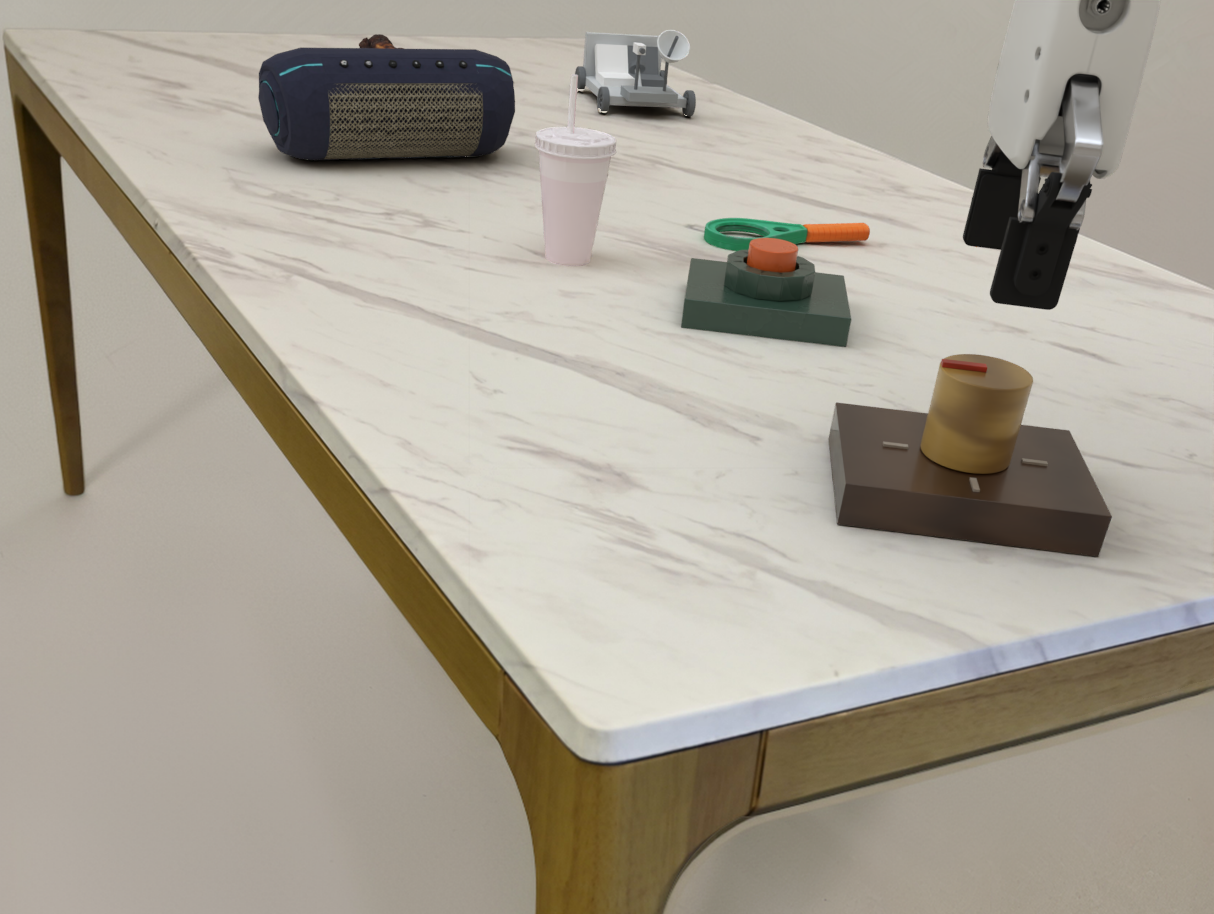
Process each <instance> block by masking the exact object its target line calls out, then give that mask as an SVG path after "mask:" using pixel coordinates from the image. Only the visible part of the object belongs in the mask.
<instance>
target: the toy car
mask: <svg viewBox="0 0 1214 914" xmlns="http://www.w3.org/2000/svg"><path fill="white" fill-rule="evenodd" d="M583 46H584V47H583V48H584V49H583V61H582V65H578V66H577V67H576V68H575V71H574V74H576V75H578V84H577V88H578V89H586V88H587V89H588V90H589V91H591V92H592V94H594V95H595V96H596V97H597V98H596V105H597V109H598V108H600V109H601V111H608V112H609V110H610V106H624V107H625V106H626V107H647V108H649V107H651V108H672V109H673V108H677V109H681V110H682V114H683V113H684V114H685V115H687V116H692V117H693V116H694V114H695V112H696V105H697V97H696V92H695V91H694V90H690V89H686V90H685V91H684V92H683V95H681V94H680V93H679V92H678V91H676V90H675V89H674V88H672V87H671V86H669V85H668V75H669V65H670V64H675V63H678V62H680V61H682V60H684V59H686V58H687V56H688V55H689V54H690V51H691V44H690V41H689V38H687V36H685V34H683V33H682V32H681V31H678V30H677V29H676V30H675V29H666V30H663V31H662V32H661V33H659V35H652V34H651V35H650V34H633V33H616V32H615V33H614V32H594V31H585V33H584V45H583ZM662 60H663V61H664V62H665V63H664V69H661V68H662Z"/></svg>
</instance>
